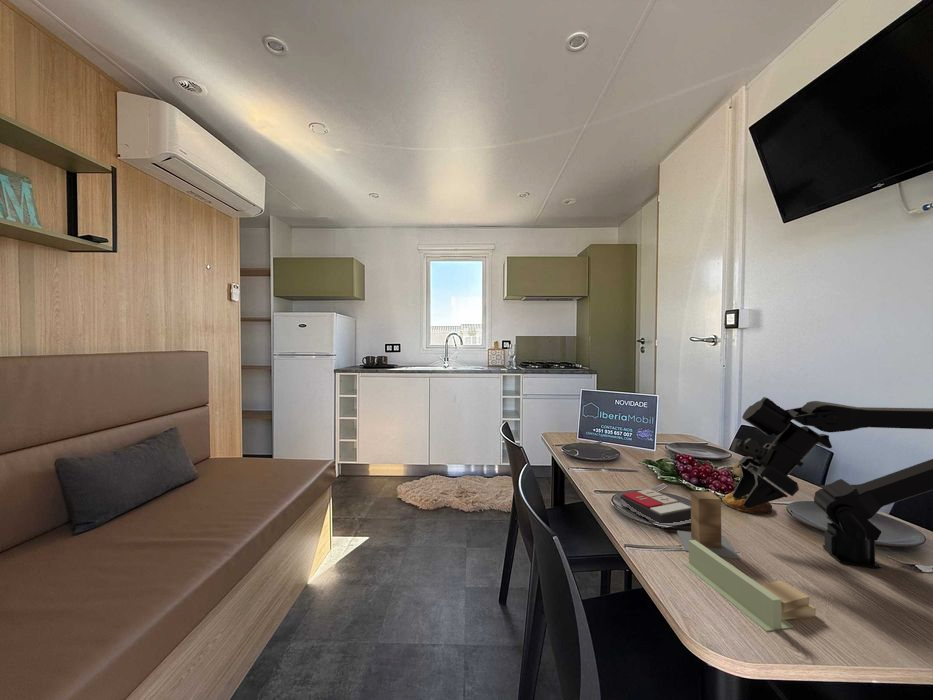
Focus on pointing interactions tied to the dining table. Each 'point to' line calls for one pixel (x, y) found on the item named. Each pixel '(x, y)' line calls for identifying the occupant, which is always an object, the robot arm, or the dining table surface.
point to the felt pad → (724, 552)
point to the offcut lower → (799, 613)
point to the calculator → (658, 506)
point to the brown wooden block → (706, 519)
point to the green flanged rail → (737, 588)
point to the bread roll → (738, 505)
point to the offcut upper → (787, 595)
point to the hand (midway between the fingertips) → (739, 501)
